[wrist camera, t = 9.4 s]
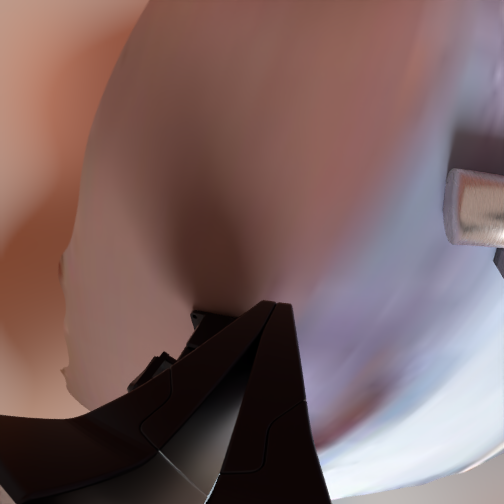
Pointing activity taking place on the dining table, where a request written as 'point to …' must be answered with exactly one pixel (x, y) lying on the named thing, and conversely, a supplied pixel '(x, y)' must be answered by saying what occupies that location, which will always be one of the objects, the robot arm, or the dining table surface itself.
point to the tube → (474, 208)
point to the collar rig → (499, 260)
